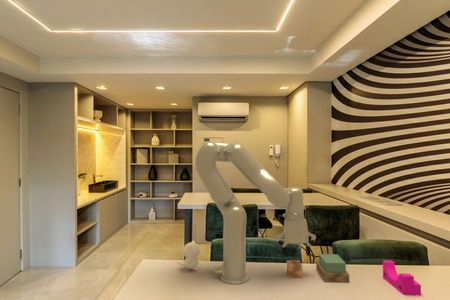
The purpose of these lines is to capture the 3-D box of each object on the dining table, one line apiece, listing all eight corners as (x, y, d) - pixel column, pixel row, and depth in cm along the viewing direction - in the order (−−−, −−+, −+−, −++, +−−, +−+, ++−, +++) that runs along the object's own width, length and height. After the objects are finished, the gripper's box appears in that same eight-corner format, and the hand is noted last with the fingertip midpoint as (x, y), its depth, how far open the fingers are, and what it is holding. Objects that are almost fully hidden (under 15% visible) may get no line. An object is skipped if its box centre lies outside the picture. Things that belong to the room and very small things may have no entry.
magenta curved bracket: (420, 297, 103) (420, 276, 103) (403, 296, 103) (403, 276, 103) (398, 278, 118) (397, 260, 118) (382, 278, 118) (382, 260, 118)
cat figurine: (197, 273, 123) (197, 246, 123) (174, 271, 124) (174, 245, 124) (202, 265, 131) (202, 240, 131) (180, 264, 133) (180, 238, 133)
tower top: (326, 272, 115) (326, 263, 115) (319, 262, 125) (319, 254, 125) (345, 273, 115) (345, 263, 115) (337, 263, 125) (337, 254, 125)
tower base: (324, 283, 114) (324, 273, 114) (316, 270, 126) (316, 261, 126) (349, 284, 114) (349, 274, 114) (338, 271, 126) (338, 262, 126)
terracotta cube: (289, 278, 118) (289, 265, 118) (286, 272, 124) (286, 260, 124) (302, 278, 118) (302, 265, 118) (299, 272, 123) (299, 260, 123)
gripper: (275, 218, 118) (277, 259, 118) (317, 217, 117) (319, 258, 117) (273, 214, 125) (275, 252, 125) (312, 213, 124) (314, 251, 124)
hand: (296, 255), depth 121 cm, fingers open, 9 cm apart
